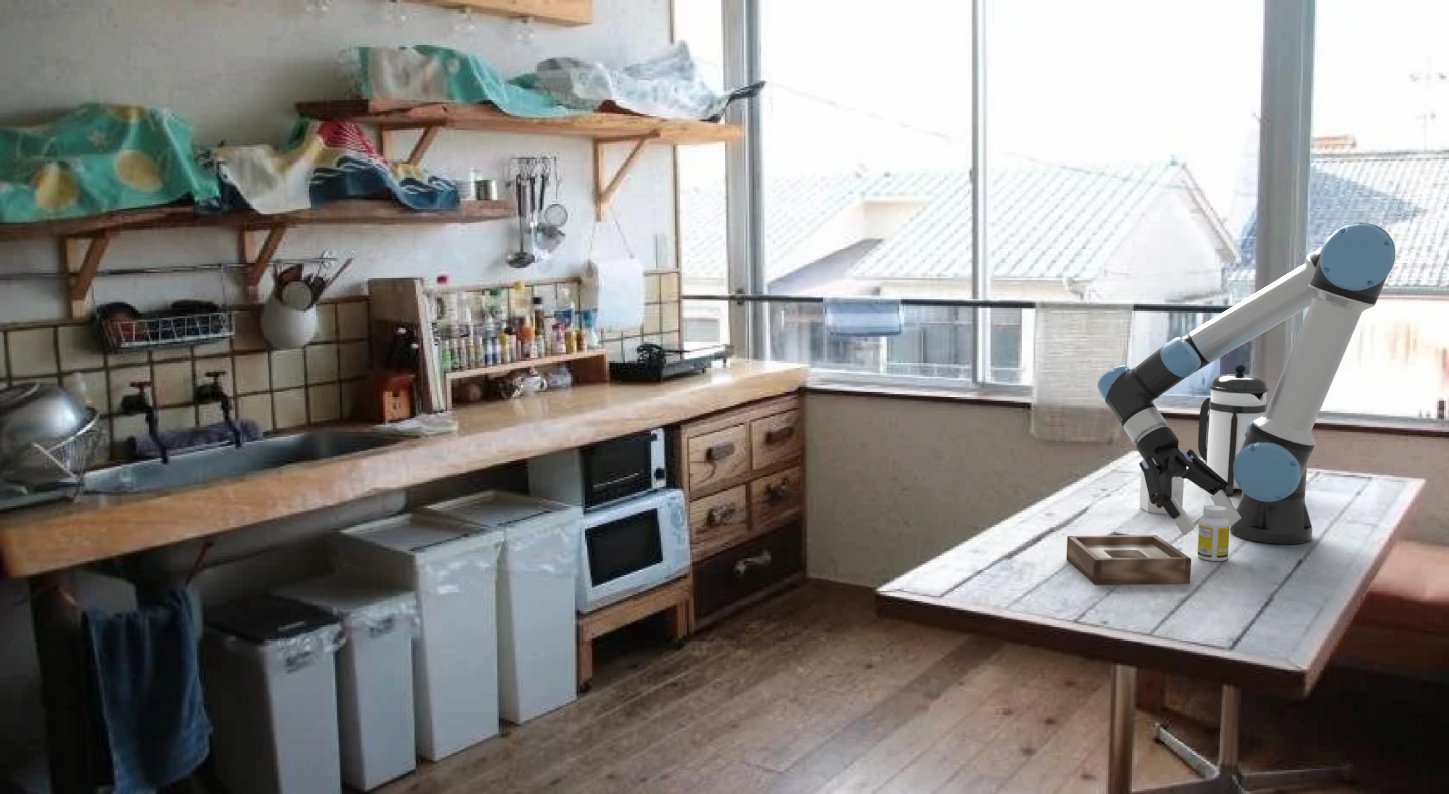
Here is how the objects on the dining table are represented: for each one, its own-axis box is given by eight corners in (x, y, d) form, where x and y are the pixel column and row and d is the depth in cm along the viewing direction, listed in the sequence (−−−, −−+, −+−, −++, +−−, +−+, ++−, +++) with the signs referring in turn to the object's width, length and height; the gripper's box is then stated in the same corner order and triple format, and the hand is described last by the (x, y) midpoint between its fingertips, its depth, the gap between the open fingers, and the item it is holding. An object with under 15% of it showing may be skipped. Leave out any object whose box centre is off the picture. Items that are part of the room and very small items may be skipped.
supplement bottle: (1226, 555, 233) (1230, 505, 232) (1228, 563, 228) (1231, 512, 227) (1196, 553, 235) (1199, 503, 234) (1197, 560, 230) (1200, 509, 228)
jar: (1163, 516, 263) (1166, 461, 262) (1132, 508, 270) (1134, 455, 268) (1189, 510, 268) (1192, 457, 267) (1158, 503, 275) (1160, 451, 273)
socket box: (1155, 558, 231) (1156, 535, 231) (1189, 583, 215) (1191, 558, 215) (1066, 559, 231) (1067, 536, 230) (1094, 584, 215) (1095, 559, 214)
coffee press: (1272, 487, 292) (1280, 362, 288) (1261, 500, 279) (1269, 369, 274) (1196, 478, 301) (1203, 357, 297) (1181, 490, 288) (1189, 364, 283)
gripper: (1181, 441, 250) (1241, 528, 240) (1097, 453, 237) (1156, 546, 227) (1205, 419, 245) (1267, 507, 234) (1120, 430, 232) (1182, 524, 221)
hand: (1213, 526), depth 230 cm, fingers open, 13 cm apart
